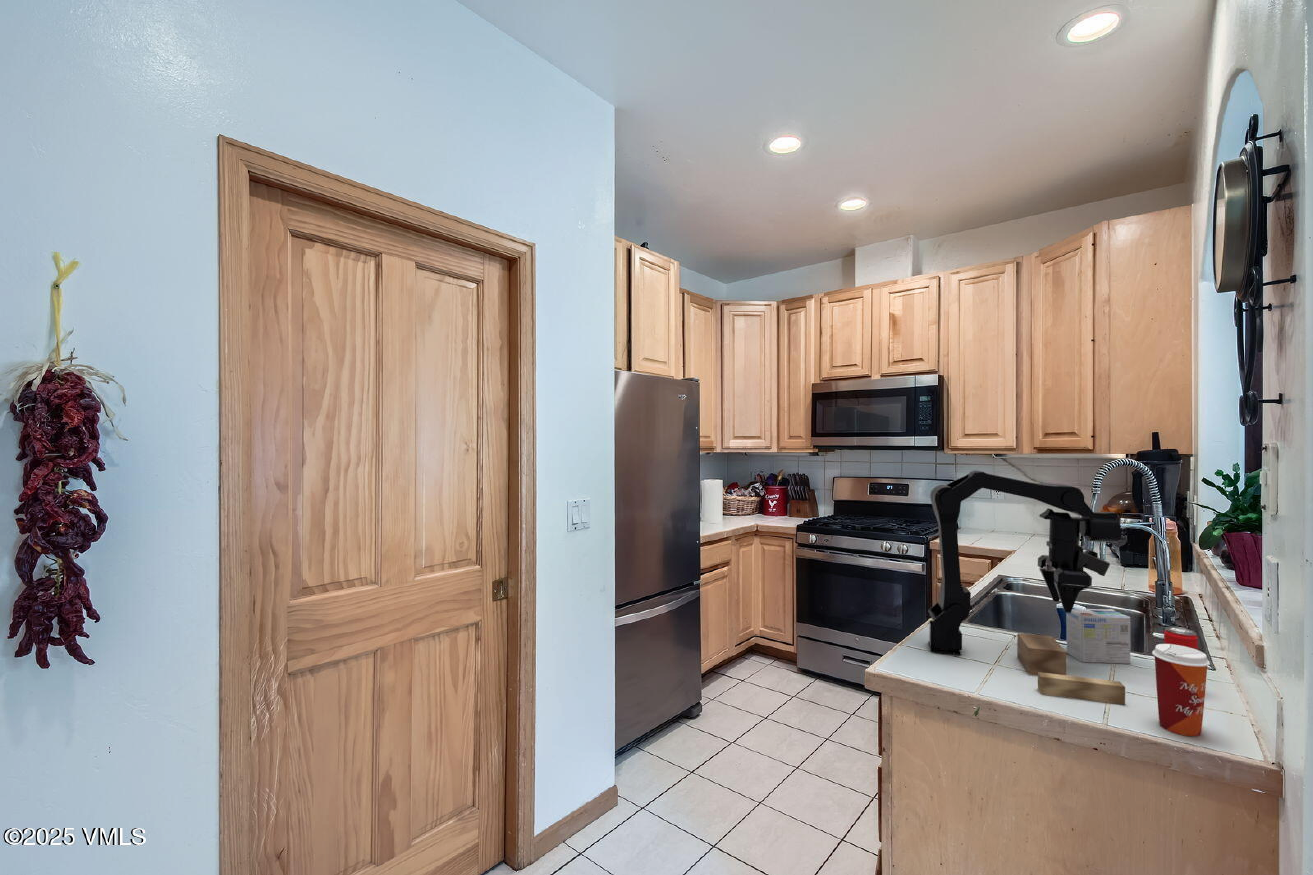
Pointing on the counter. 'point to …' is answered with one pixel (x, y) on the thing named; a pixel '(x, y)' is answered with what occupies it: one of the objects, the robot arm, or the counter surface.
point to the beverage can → (1181, 637)
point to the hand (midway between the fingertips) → (1061, 606)
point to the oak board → (1081, 688)
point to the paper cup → (1180, 688)
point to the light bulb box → (1098, 635)
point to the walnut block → (1040, 654)
